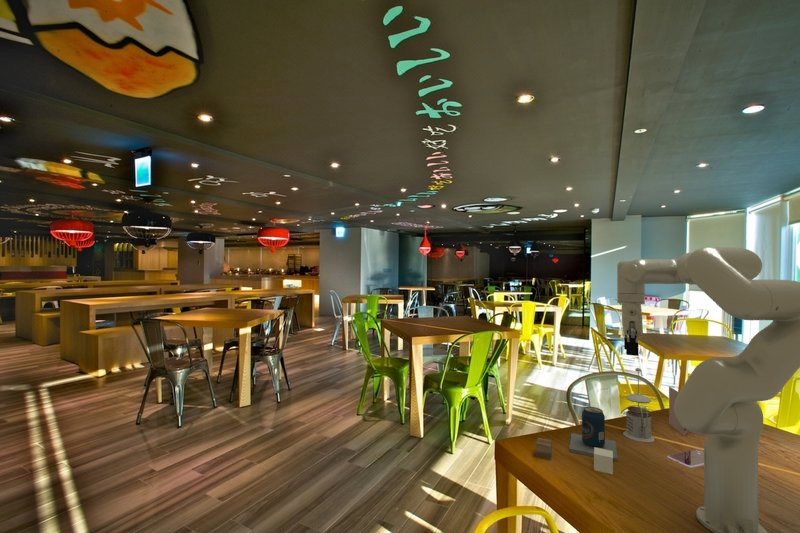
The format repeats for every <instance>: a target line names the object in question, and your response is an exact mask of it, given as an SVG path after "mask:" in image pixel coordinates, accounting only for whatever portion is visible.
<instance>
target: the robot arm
mask: <svg viewBox="0 0 800 533" xmlns="http://www.w3.org/2000/svg"><path fill="white" fill-rule="evenodd" d="M616 269H617V272H616V273H617V281H616V282H617V284H616V286H617V288H616V290H617V292H616V294H617V295H616V296H617V297H616V299H617V304H621V323H622V324H621V325H622V326H621V327H622V331H623V332H622V333H623V334H624V338H623V341H624V342H623V344H624V345H623V348H624V350H625V354H626V355H627V356H633V357H634V356H635V357H638V356H639V354H640V352H639V347H640V346H639V338H638V337H639V336H640V337H641V336H643V313H642V312H643V310H642V305H645V304H646V300H645V298H646V297H645V296H646V293H645V292H646V289H645V288H646V285H652V284H653V285H654V284H655V285H682V284H685V285H686V284H687V285H689V286H690V285H693V286H694V285H696V287H698V288H699V289H700V290H701V291H702V292H703V293H705V295H706V296H708V297H709V298H710V299H711V300H712V301H713V303H714V304H716V305H717V306H718V307H719V308H721V310H722V311H724V313H726V314H727V315H729V316H731V317H733V318H736V319H739V320H744V321H771V323H770V324H768V325H767V326H765V327H764V328H763V329H761V330H760V331H758V332H757V333H756V334H755V335H754V336H753V337H752V338H751V340H750V341H749V342H748V344H747V345H746V346H745V348H744V349H743V350H742V351H741V352H740V353H739V354H738V355H735V356H720V357H719V356H717V357H711V358H707V359H705V360H703V361H701V362H700V363H699V364H697V365H696V366H695V368H694V369H693V371H691V374H690V375H689V376H688V378H687V380H686V381H685V382H684V385H683V386H682V387H681V389H680V391H678V392H679V394H678V395H677V397H676V400H675V404H674V412H675V416H676V419H677V421H678V422H679V424H680V425H681V426H682V427H683V428H685V429H686V430H688V432H690V433H691V434H692V433H693V434H697V435H706V436H705V440H704V445H703V452H704V465H703V475H704V476H703V479H704V480H703V481H704V482H703V489H704V490H703V492H704V493H703V494H704V495H703V496H704V500H703V501H704V505H703V506H699V507H698V508H696V514H695V516H696V518H697V520H698V521H699V523H700V524H701V525H702V526H704V527H705V528H706V529H708V530H709V531H711V532H712V533H768V531H767V530H766V529H765V527H764V526H762V525H761V524H760V523H759V520H760V519H759V444H760V438H761V435H762V431H763V426H764V413H763V412H764V411H763V409H762V408H761V406H760V404H759V403H758V402H766V401H769V400H772V399H774V398H775V397H776V396H777V395H778V394H779V393H780V391H781V390H782V389H783V388H784V387H786V384H788V382H789V381H790V380H791V379H792V377H793V376H794V375H795V374H796V373H797V372H798V370H799V369H800V281H797V280H790V279H755V278H756V277H758V276H759V275H760V274H761V272H762V269H763V262H762V260H761V258H760V256H759V255H758V254H757V253H756V252H754V251H752V250H750V249H747V248H743V247H733V246H732V247H731V246H729V247H726V246H725V247H724V246H720V247H719V246H708V247H707V246H705V247H700V248H698V249H695V250H694V251H693V252H687V253H683V254H682V255H681V256H680V257H678V258H672V259H671V258H670V259H666V258H663V259H662V258H649V259H648V258H638V259H633V260H621V261H619V262H617V268H616Z"/></svg>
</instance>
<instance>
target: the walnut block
mask: <svg viewBox="0 0 800 533" xmlns="http://www.w3.org/2000/svg"><path fill="white" fill-rule="evenodd" d="M552 456H553V440H550V439H547V438H546V439H545V438H540V437H537V439H536V442H535V458H539V459H544V460H547V461H548V460H549V461H551V460H552Z"/></svg>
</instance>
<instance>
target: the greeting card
mask: <svg viewBox="0 0 800 533" xmlns="http://www.w3.org/2000/svg"><path fill="white" fill-rule="evenodd" d="M679 392H680V391H678V390H676V389H674V388H673V387H671V386H668V416H669V417H668V423H669V424H668V425H669V426H671V427H673V429H674V430H676V431H677V432H678V433H680V434H681V435H682V436H685V435H687V433H688V432H689V431H688V430H686V429H685V428H683V427H682V426H681V425H680V424H679V422H678V421H677V419H676V416H675V412H674V404H675V400H676V397H677V395H678V394H679Z"/></svg>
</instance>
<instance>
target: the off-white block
mask: <svg viewBox="0 0 800 533" xmlns="http://www.w3.org/2000/svg"><path fill="white" fill-rule="evenodd" d="M593 471H596V472H599V473H605V474H609V475H614V461H613V451H611V450H606V449H601V448H596V447H594V457H593Z"/></svg>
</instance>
